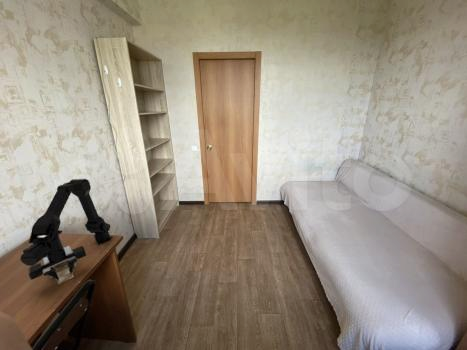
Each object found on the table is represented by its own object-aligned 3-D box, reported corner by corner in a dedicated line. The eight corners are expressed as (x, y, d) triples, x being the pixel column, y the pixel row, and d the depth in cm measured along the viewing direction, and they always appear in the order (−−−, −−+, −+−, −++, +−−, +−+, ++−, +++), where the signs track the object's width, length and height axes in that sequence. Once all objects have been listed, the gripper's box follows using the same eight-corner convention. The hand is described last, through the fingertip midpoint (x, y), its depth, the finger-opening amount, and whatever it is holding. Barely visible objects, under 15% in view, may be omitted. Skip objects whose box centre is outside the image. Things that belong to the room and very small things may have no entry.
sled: (67, 258, 103) (64, 249, 101) (74, 277, 92) (70, 266, 90) (54, 264, 100) (49, 254, 98) (58, 284, 88) (54, 274, 86)
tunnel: (74, 258, 104) (69, 245, 101) (77, 266, 98) (72, 252, 96) (48, 269, 97) (42, 256, 94) (50, 278, 92) (44, 264, 89)
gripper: (76, 230, 97) (85, 256, 102) (22, 250, 84) (35, 279, 89) (81, 240, 89) (91, 268, 94) (22, 263, 77) (37, 294, 82)
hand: (65, 276), depth 90 cm, fingers closed on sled, 4 cm apart
